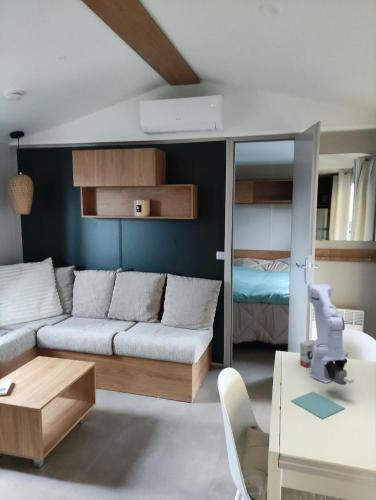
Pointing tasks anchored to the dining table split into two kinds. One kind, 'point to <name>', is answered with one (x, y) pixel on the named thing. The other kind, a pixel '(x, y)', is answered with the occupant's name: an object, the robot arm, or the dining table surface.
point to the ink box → (306, 353)
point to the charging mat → (318, 405)
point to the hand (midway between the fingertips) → (335, 376)
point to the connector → (339, 376)
